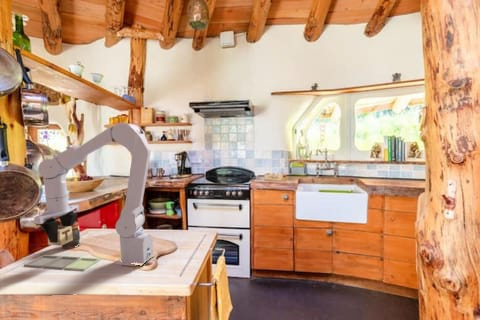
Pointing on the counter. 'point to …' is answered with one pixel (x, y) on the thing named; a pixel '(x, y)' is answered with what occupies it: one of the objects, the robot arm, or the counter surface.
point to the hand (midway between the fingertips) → (60, 239)
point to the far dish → (42, 261)
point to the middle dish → (61, 262)
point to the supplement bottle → (75, 237)
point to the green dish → (82, 264)
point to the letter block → (63, 235)
